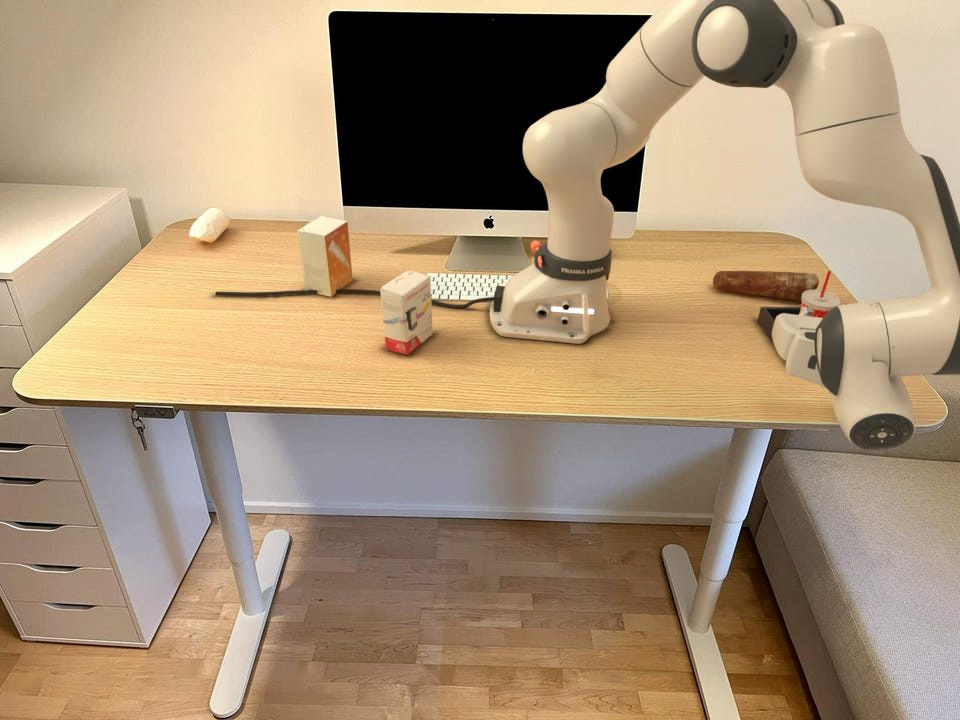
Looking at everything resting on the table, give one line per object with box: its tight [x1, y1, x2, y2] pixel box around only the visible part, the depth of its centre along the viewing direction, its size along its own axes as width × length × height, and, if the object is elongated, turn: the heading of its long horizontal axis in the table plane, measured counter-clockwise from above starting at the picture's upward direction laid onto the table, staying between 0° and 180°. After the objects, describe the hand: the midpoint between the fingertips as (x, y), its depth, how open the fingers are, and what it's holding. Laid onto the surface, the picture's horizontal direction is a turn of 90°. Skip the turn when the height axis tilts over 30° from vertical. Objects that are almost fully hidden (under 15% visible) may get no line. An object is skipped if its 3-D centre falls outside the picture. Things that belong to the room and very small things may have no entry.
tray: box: [756, 306, 801, 363], centre depth 126 cm, size 12×17×3 cm
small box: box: [297, 215, 354, 298], centre depth 139 cm, size 8×6×13 cm
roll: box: [189, 207, 231, 244], centre depth 158 cm, size 6×12×6 cm, turn 176°
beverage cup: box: [799, 270, 841, 318], centre depth 122 cm, size 6×6×14 cm
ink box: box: [379, 269, 434, 356], centre depth 123 cm, size 9×5×12 cm, turn 150°
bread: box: [712, 270, 820, 302], centre depth 141 cm, size 6×19×6 cm, turn 74°
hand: (838, 314), depth 110 cm, fingers open, 8 cm apart
